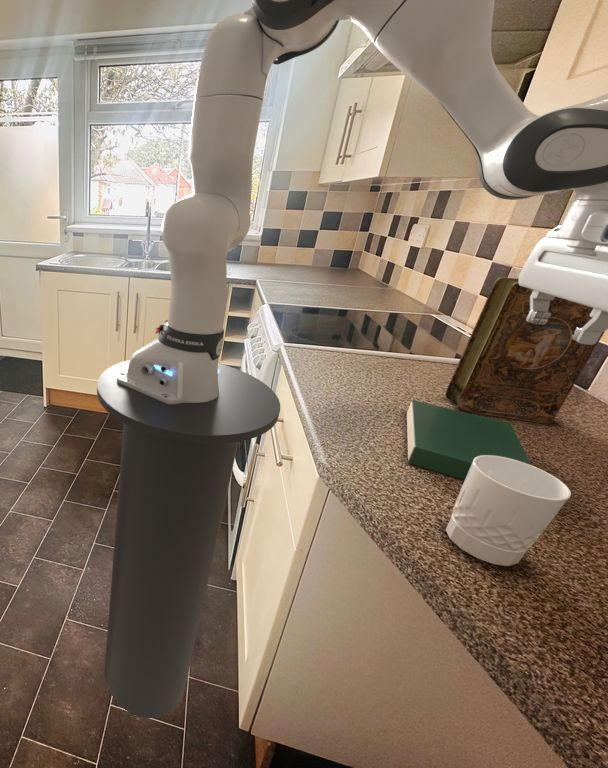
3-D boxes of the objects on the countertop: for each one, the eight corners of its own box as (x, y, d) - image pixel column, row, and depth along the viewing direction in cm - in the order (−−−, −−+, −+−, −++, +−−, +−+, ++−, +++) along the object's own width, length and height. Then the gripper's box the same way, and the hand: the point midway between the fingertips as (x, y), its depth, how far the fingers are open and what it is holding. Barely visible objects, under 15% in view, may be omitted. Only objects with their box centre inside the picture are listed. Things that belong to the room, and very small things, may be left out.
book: (539, 412, 82) (609, 285, 72) (557, 425, 78) (636, 292, 67) (442, 398, 87) (496, 276, 76) (454, 410, 82) (513, 282, 71)
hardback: (407, 463, 64) (414, 446, 63) (406, 413, 80) (411, 399, 78) (529, 499, 57) (540, 482, 56) (502, 437, 73) (510, 422, 71)
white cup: (423, 520, 53) (455, 454, 49) (481, 519, 53) (517, 454, 49) (479, 572, 46) (522, 500, 41) (545, 570, 46) (593, 499, 42)
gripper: (528, 221, 62) (489, 312, 68) (650, 230, 44) (582, 353, 50) (581, 223, 61) (536, 316, 66) (729, 234, 43) (649, 360, 48)
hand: (556, 332), depth 58 cm, fingers open, 8 cm apart
